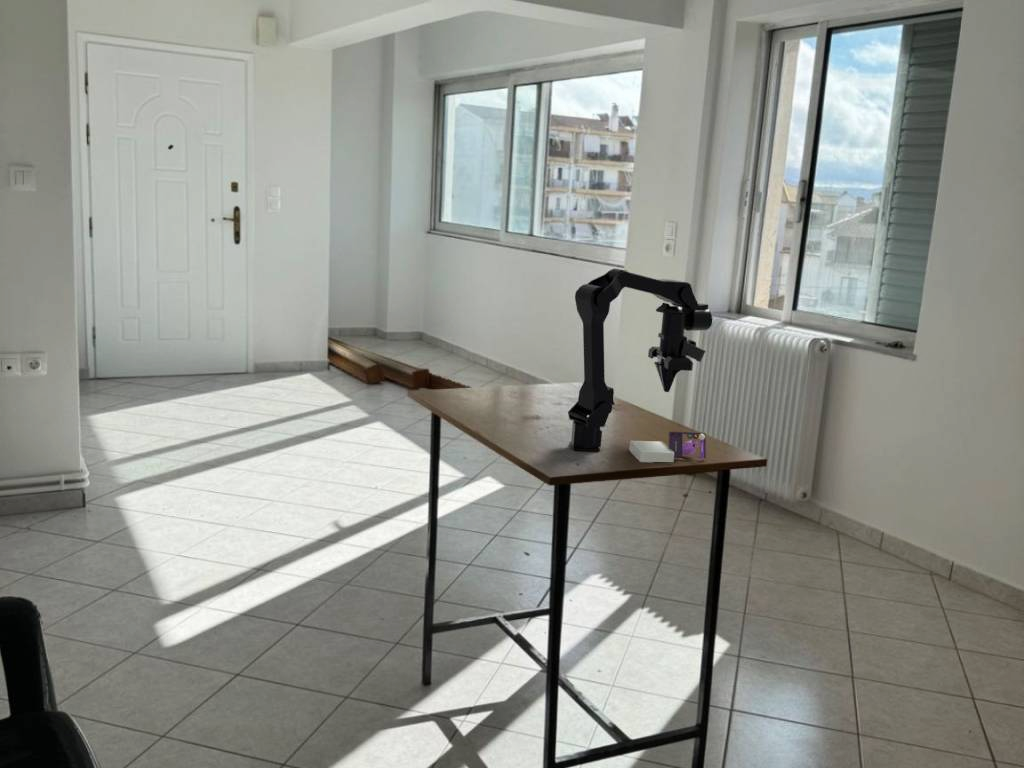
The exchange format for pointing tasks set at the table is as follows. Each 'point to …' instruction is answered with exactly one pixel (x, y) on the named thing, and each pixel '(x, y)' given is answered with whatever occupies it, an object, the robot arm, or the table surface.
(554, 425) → the table surface
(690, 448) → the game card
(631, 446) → the slab
